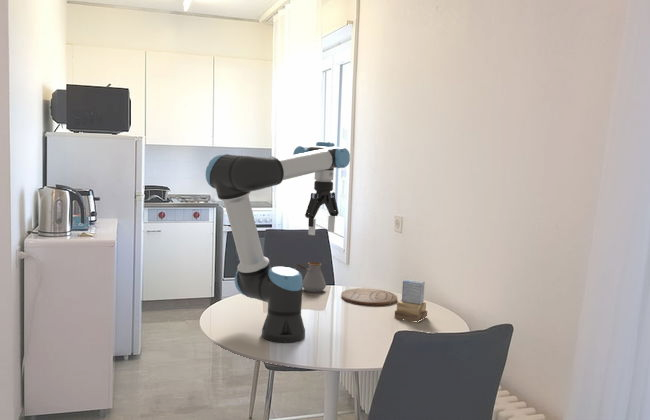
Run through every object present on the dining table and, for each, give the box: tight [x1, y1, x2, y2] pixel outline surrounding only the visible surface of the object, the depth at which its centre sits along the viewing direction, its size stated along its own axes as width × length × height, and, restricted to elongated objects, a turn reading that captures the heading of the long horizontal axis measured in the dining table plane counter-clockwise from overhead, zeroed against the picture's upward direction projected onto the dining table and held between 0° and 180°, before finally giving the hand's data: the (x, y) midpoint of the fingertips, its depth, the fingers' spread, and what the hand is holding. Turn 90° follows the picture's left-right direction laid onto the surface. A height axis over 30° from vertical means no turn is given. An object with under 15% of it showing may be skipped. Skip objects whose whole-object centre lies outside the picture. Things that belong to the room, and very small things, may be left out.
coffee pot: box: [295, 261, 327, 294], centre depth 260 cm, size 21×12×15 cm, turn 148°
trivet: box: [340, 287, 398, 307], centre depth 255 cm, size 25×25×2 cm
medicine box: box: [401, 278, 425, 304], centre depth 227 cm, size 8×4×9 cm, turn 64°
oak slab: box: [396, 299, 427, 315], centre depth 228 cm, size 8×9×4 cm
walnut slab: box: [394, 309, 428, 323], centre depth 228 cm, size 9×10×4 cm
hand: (321, 233), depth 230 cm, fingers open, 13 cm apart
